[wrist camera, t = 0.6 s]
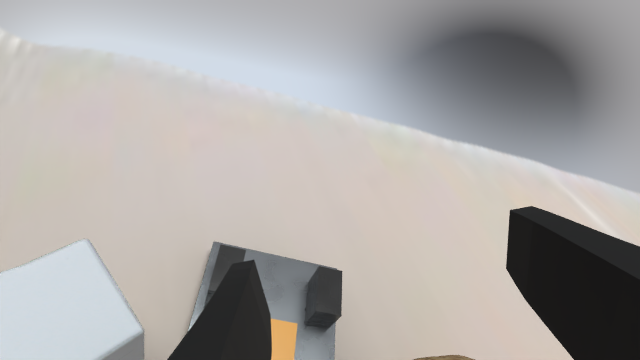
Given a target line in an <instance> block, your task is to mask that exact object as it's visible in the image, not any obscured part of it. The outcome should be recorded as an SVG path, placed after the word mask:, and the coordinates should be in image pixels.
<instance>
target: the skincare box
mask: <svg viewBox="0 0 640 360" xmlns="http://www.w3.org/2000/svg"><path fill="white" fill-rule="evenodd" d="M0 360H144V329H143V327H142V325H141V324H140V322H139V320H138V319H137V317H136V315H135V314H134V312H133V310H132V309H131V307H130V305H129V304H128V302H127V300H126V299H125V297H124V295H123V294H122V292H121V290H120V289H119V287H118V285H117V284H116V282H115V280H114V279H113V277H112V275H111V274H110V272H109V271H108V269H107V267H106V266H105V264H104V263H103V261H102V259H101V258H100V256H99V254H98V253H97V251H96V250H95V248H94V247H93V245H92V243H91V242H90V240H88V239H82V240H79V241H76V242H74V243H72V244H69V245H67V246H65V247H62V248H60V249H58V250H55V251H53V252H51V253H48V254H46V255H44V256H41V257H39V258H37V259H34V260H32V261H30V262H28V263H25V264H23V265H21V266H18V267H15V268H12V269H9V270H6V271H3V272H0Z"/></svg>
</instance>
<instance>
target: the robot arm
mask: <svg viewBox="0 0 640 360" xmlns="http://www.w3.org/2000/svg"><path fill="white" fill-rule="evenodd" d="M506 269H507V271H508V272H509V274H510V276H511V277H512V279H513V281H514V282H515V284H516V286H517V287H518V289H519V290H520V292H521V294H522V295H523V297H524V298H525V300H526V301H527V302H528V304H529V305H530V306H531V307H532V309H533V310H534V311H535V312H536V314H537V315H538V316H539V317H540V319H541V320H542V321H543V322H544V324H545V325H546V326H547V327H548V328H549V330H550V331H551V332H552V333H553V335H554V336H555V337H556V338H557V339H558V341H559V342H560V343H561V344H562V346H563V347H564V348H565V349H566V350H567V352H568V353H569V354H570V355H571V356H572V358H573V359H574V360H640V247H639V246H636V245H634V244H631V243H628V242H625V241H623V240H620V239H617V238H615V237H612V236H610V235H607V234H604V233H602V232H599V231H597V230H594V229H592V228H589V227H586V226H584V225H581V224H579V223H576V222H574V221H571V220H569V219H566V218H564V217H561V216H558V215H556V214H553V213H550V212H548V211H545V210H542V209H539V208H536V207H533V206H530V207H524V208H519V209H514V210H510V218H509V233H508V248H507V264H506ZM271 357H272V334H271V314H270V311H269V307H268V304H267V301H266V297H265V294H264V291H263V287H262V284H261V280H260V277H259V274H258V270H257V267H256V264H255V260H249V261H244V262H239V263H234V264H232V265H231V267H230V268H229V269H228V271H227V273H226V274H225V276H224V277H223V279H222V281H221V282H220V284H219V286H218V287H217V289H216V290H215V292H214V294H213V295H212V297H211V298H210V300H209V302H208V303H207V305H206V306H205V308H204V309H203V311H202V312H201V314H200V315H199V317H198V318H197V320H196V321H195V323H194V324H193V326H192V327H191V328H190V330H189V331H188V332H187V334H186V335H185V337H184V338H183V339H182V341H181V342H180V343H179V345H178V346H177V347H176V349H175V350H174V351H173V353H172V354H171V355H170V357H169V358H168V359H167V360H271Z"/></svg>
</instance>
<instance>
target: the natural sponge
mask: <svg viewBox="0 0 640 360" xmlns="http://www.w3.org/2000/svg"><path fill="white" fill-rule="evenodd" d="M414 360H474V359H471V358H468V357H465V356H460V355H447V356H439V357H425V358H417V359H414Z"/></svg>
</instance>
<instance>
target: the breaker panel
mask: <svg viewBox="0 0 640 360" xmlns="http://www.w3.org/2000/svg"><path fill="white" fill-rule="evenodd" d="M249 260H255V264H256V267H257V270H258V274H259V277H260V280H261V284H262V287H263V291H264V294H265V297H266V301H267V304H268V307H269V311H270V314H271V319H276V320H282V321H287V322H292V323H298V324H297V334H296V344H295V354H294V360H334V352H335V322H336V321H337V320H338V319H339V318H340V317H341V301H342V271H339V270H337V269H336V268H331V267H327V266H322V265H318V264H313V263H309V262H304V261H300V260H295V259H291V258H286V257H282V256H277V255H273V254H268V253H264V252H259V251H255V250H250V249H246V248H241V247H237V246H232V245H228V244H223V243H219V242H213V246H212V249H211V253H210V256H209V260H208V263H207V267H206V270H205V274H204V277H203V281H202V284H201V287H200V291H199V294H198V298H197V301H196V305H195V308H194V312H193V315H192V319H191V322H190V326H189V329H188V331H189V330H190V328H191V327H192V326H193V324H194V323H195V321H196V320H197V318H198V317H199V315H200V314H201V312H202V311H203V309H204V308H205V306H206V305H207V303H208V302H209V300H210V298H211V297H212V295H213V294H214V292H215V290H216V289H217V287H218V286H219V284H220V282H221V281H222V279H223V277H224V276H225V274H226V273H227V271H228V269H229V268H230V267H231V265H232V264H234V263H239V262H244V261H249Z"/></svg>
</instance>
